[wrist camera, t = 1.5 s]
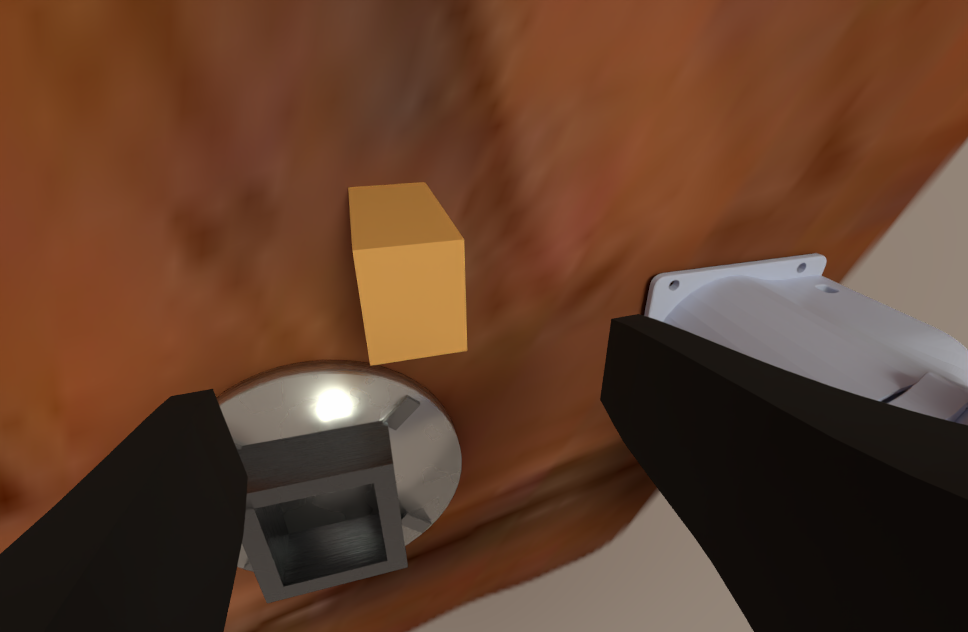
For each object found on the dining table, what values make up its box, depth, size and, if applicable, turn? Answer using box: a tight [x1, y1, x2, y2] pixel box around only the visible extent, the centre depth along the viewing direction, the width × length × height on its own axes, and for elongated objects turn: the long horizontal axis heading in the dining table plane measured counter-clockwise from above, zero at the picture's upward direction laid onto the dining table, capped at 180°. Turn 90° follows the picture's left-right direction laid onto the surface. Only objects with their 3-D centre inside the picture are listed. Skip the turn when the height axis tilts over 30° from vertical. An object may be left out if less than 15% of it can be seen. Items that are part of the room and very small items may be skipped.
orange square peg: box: [348, 182, 467, 366], centre depth 14 cm, size 3×3×6 cm
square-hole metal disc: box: [217, 360, 462, 603], centre depth 20 cm, size 12×12×4 cm
